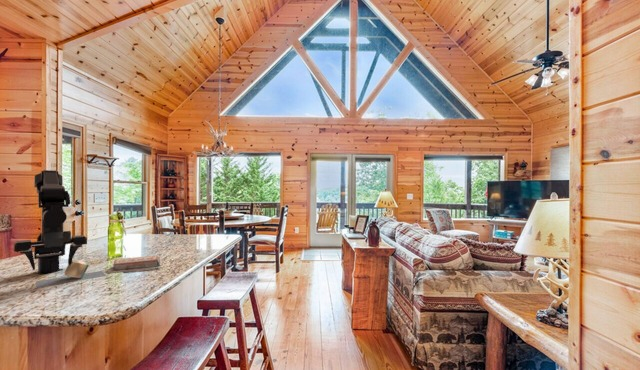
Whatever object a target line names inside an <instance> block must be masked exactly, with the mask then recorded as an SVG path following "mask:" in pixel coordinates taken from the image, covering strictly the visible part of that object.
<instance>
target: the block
mask: <svg viewBox="0 0 640 370" xmlns="http://www.w3.org/2000/svg"><path fill="white" fill-rule="evenodd" d="M89 266H90V264H89V263H88V262H86V261H82V260H75V259H72V261H71V263H70V265H68V264H67V266H66V268H65V270H64V272H63V273H64V275H65V276H64V277H66V276H69V277H75V278H81V279H82V278H83V276H84V274H85V273H87V272H86V271H87V270H88V268H89Z"/></svg>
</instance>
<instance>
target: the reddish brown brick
mask: <svg viewBox="0 0 640 370" xmlns="http://www.w3.org/2000/svg"><path fill="white" fill-rule="evenodd" d="M160 259H161V257H160V255H150V256H137V257H135V256H134V257H121V258H119V257H118V258H115V259H114V261H113V264H112V266H111V267H110V268H109V269H108V270H107V272H106V273H107V274H112V273H134V272H144V271H153V270H159V269H160V267H161V263H162V261H161V260H160Z"/></svg>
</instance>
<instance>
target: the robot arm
mask: <svg viewBox="0 0 640 370" xmlns="http://www.w3.org/2000/svg"><path fill="white" fill-rule="evenodd" d="M33 179H34V181H33V182H34V183H33V185H34V188H36V193H37V202H38V203H37V204H38V208H40V209H41V232H40V234H39V235H38V236H37V238H36V241H32V239H25V240H24V239H22V240H16V241H15V242H14V243H13V244H14V245H13V246H14V248H13V252H15V253H16V252H19V254H21V255H22V254H24V255H25V256H26V258H27V260H28V262H29V264H30V266H31V268H32V270H33V271H34V272H33V274H35V275H36V274H37V275H49V274H52V273H57V272H61V271H64V269H63V268H60V257H64V256H65V255H66V245H68V244H70V245H69V250H68V260H67V266H68V265H70V263H71V261H72V260H74V256H75V254H76V252H77V251H78V249H80V248H82V247H83V245H88V237H87V236H85V235H83V234H81V235H72V232H71V230H65V231H64V223H65V222H66V221H67V217H68V216H67V213H66V212H65V211H64V208H68V207H69V205H71V196H70V193H69V191H68V190H66V188H65V186H64V184H63V183H64V182H63V179H64V178H63V175H61V174H60V172H59V171H57V170H52V169H51V170H49V169H48V170H47V169H43V170H41V172H40V173H37V174H35V175H34V177H33ZM35 260H37V261H38V262H37V271H35V270H36V266H35V265H36V264H35Z"/></svg>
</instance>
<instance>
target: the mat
mask: <svg viewBox="0 0 640 370" xmlns="http://www.w3.org/2000/svg"><path fill="white" fill-rule="evenodd" d="M106 276H107V274H106V273H105V272H104V271H102V270H99V271H98V270H97V271H93V272H85V274H84V276H83V278H82V279H81V278H75V277H69V276H61V277H55V278H50V279H44V280H36V281H35V284H36V289H40V288H45V287H51V286H57V285H63V284H69V283H74V282H80V281H84V280H90V279H95V278H101V277H106Z"/></svg>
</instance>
